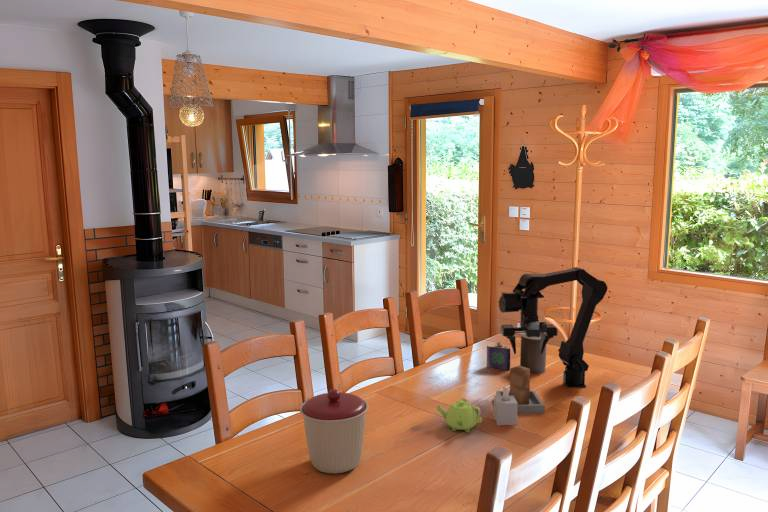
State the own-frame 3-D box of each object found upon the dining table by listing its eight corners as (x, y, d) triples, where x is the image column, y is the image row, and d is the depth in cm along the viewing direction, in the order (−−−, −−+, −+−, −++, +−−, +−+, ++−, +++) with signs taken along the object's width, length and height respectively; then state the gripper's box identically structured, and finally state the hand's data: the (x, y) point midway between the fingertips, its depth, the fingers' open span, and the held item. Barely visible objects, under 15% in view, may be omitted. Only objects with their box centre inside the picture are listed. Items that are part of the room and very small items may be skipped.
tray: (534, 397, 209) (534, 390, 209) (544, 413, 196) (544, 405, 196) (496, 398, 209) (496, 390, 209) (503, 414, 196) (503, 406, 196)
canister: (334, 442, 178) (333, 373, 175) (383, 461, 167) (382, 387, 163) (287, 467, 164) (284, 392, 161) (336, 489, 153) (334, 409, 149)
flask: (485, 368, 239) (486, 341, 238) (487, 365, 242) (488, 339, 240) (509, 371, 235) (509, 344, 234) (511, 369, 238) (511, 342, 236)
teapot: (487, 429, 185) (488, 402, 184) (458, 439, 179) (458, 411, 178) (463, 416, 195) (463, 391, 193) (435, 425, 188) (435, 399, 187)
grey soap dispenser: (512, 416, 194) (513, 383, 192) (517, 424, 188) (517, 390, 187) (493, 416, 194) (494, 383, 192) (497, 425, 188) (498, 390, 187)
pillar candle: (518, 372, 234) (520, 334, 231) (520, 364, 243) (522, 327, 240) (545, 375, 231) (546, 337, 228) (546, 366, 240) (547, 329, 238)
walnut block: (518, 399, 206) (519, 365, 204) (529, 403, 202) (530, 368, 200) (509, 403, 203) (510, 368, 201) (520, 407, 199) (521, 372, 197)
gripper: (507, 316, 204) (506, 361, 207) (562, 316, 205) (561, 361, 207) (500, 308, 215) (499, 351, 218) (553, 308, 216) (552, 350, 218)
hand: (528, 353), depth 215 cm, fingers open, 9 cm apart
